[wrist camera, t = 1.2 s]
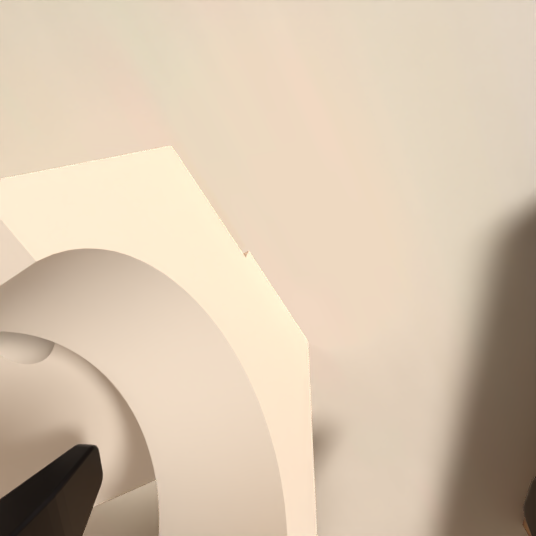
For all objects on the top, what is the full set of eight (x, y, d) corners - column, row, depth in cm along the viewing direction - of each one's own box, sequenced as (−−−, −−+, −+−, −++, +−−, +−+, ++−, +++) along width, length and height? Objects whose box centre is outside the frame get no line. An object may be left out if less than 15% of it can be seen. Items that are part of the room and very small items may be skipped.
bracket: (181, 143, 11) (-29, 183, 4) (307, 336, 13) (320, 600, 6) (-106, 341, 14) (-510, 562, 7) (30, 473, 16) (-183, 753, 9)
